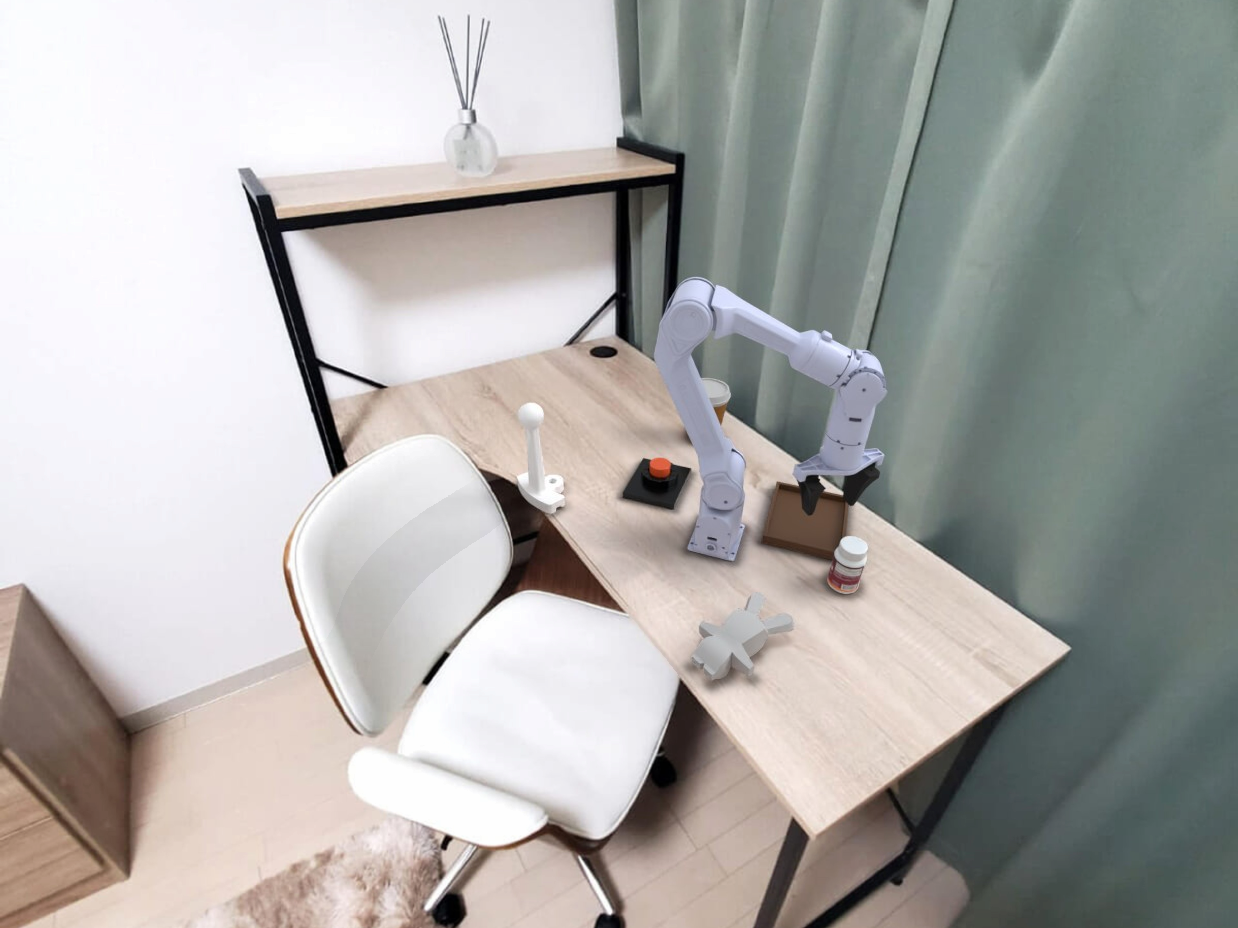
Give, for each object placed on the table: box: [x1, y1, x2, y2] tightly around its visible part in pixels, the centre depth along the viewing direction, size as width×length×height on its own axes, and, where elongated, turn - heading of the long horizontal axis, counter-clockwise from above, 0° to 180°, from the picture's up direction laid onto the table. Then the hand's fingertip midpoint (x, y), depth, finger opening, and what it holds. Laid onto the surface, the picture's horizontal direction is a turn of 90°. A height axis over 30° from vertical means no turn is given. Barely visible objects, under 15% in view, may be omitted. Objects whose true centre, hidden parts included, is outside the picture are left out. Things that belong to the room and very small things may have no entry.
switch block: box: [622, 457, 692, 511], centre depth 115 cm, size 12×10×3 cm
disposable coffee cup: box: [688, 377, 732, 440], centre depth 127 cm, size 10×10×12 cm
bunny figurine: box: [690, 591, 796, 682], centre depth 84 cm, size 10×5×15 cm
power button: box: [649, 457, 672, 478], centre depth 115 cm, size 4×4×2 cm
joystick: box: [516, 402, 566, 515], centre depth 108 cm, size 11×8×20 cm
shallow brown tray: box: [760, 481, 850, 561], centre depth 107 cm, size 16×13×2 cm
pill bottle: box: [826, 535, 869, 595], centre depth 93 cm, size 5×5×8 cm
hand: (827, 506), depth 96 cm, fingers open, 7 cm apart
